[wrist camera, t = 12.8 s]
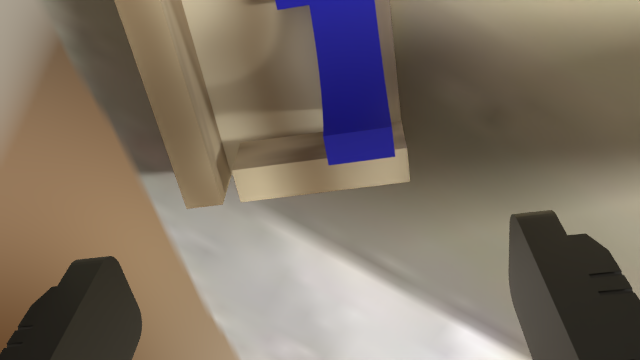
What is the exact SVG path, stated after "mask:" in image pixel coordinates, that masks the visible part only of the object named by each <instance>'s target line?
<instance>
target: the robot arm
mask: <svg viewBox="0 0 640 360" xmlns="http://www.w3.org/2000/svg"><path fill="white" fill-rule="evenodd" d="M509 286H510V292H511V297H512V302H513V305H514V308H515V311H516V314H517V317H518V319H519V322H520V325H521V328H522V331H523V334H524V336H525V339H526V342H527V345H528V348H529V350H530V353H531V356H532V359H533V360H640V300H639V298H638V297H637V295H636V294H635V293H633V291H632V287H631V285H630V284H629V282H628V281H627V279H626V277H625V276H624V275H622V273H621V269H620V268H619V266H618V265H617V263H616V261H615V260H614V258H613V257H612V255H611V253H610V252H609V250H607V249H606V248H605V247H603V246H602V245H601V244H599V243H598V242H597V241H595V240H594V239H592V238H591V237H590V236H588V235H587V234H577V235H567V234H566V232H565V230H564V228H563V227H562V225H561V223H560V221H559V219H558V217H557V216H556V214H555V212H554V211H552V210H548V211H539V212H529V213H520V214H512V215H511V218H510V233H509ZM141 330H142V320H141V313H140V309H139V307H138V304H137V302H136V300H135V298H134V295H133V293H132V292H131V289H130V287H129V284H128V282H127V280H126V278H125V275H124V273H123V271H122V269H121V266H120V264H119V262H118V261H117V260H116V259H115V258H114V257H112V256H109V257H98V258H89V259H80V260H75V261H74V262H72V263H71V265H70V266H69V268H68V270H67V272H66V273H65V275H64V276H63V278H62V279H61V281H60V283H59V284H58V286H55V287H51V288H50V289H49V290H48V291H47V292H46V293H45V294H44V295H43V296H41V297H40V298H39V299H38V300H37V301H36V302H35V303H34V304H32V306H31V307H30V308H29V310H28V311H27V313H26V315H25V316H24V318H23V319H22V321H21V322H20V324H19V326H18V331H15V332H14V333H13V335H12V336H11V338H10V339H9V341H8V343H7V348H4V349H3V350H2V352H1V354H0V360H132V358H133V355H134V352H135V350H136V347H137V345H138V342H139V339H140V336H141Z"/></svg>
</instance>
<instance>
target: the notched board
mask: <svg viewBox="0 0 640 360" xmlns="http://www.w3.org/2000/svg"><path fill="white" fill-rule="evenodd" d="M114 1H115V4H116V7H117V10H118V12H119V15H120V18H121V21H122V24H123V27H124V30H125V33H126V35H127V38H128V41H129V44H130V47H131V50H132V53H133V56H134V59H135V61H136V64H137V67H138V70H139V73H140V76H141V79H142V82H143V84H144V87H145V90H146V93H147V96H148V99H149V102H150V105H151V107H152V110H153V113H154V116H155V119H156V122H157V125H158V128H159V130H160V133H161V136H162V139H163V142H164V145H165V148H166V151H167V154H168V156H169V159H170V162H171V165H172V168H173V171H174V174H175V177H176V179H177V182H178V185H179V188H180V191H181V194H182V197H183V200H184V202H185V205H186V208H187V209H190V208H198V207H206V206H214V205H222V204H223V202H224V198H225V195H226V192H227V188H228V185H229V182H230V178H231V175H233V176H234V180H235V183H236V187H237V190H238V194H239V197H240V201H241V202H247V201H255V200H263V199H272V198H280V197H288V196H296V195H304V194H312V193H321V192H329V191H337V190H345V189H353V188H362V187H370V186H378V185H386V184H394V183H403V182H410V173H409V163H408V152H407V145H406V140H405V136H404V131H403V127H402V122H401V112H400V102H399V92H398V81H397V71H396V60H395V50H394V39H393V29H392V19H391V8H390V0H375V7H376V16H377V24H378V32H379V40H380V48H381V55H382V63H383V70H384V78H385V85H386V92H387V99H388V106H389V112H390V118H391V124H392V132H393V141H394V149H395V157H390V158H382V159H375V160H367V161H359V162H352V163H344V164H337V165H328V160H327V155H326V149H325V144H324V139H323V110H322V97H321V86H320V77H319V68H318V60H317V52H316V45H315V38H314V31H313V25H312V19H311V13H310V7H309V5H306V6H300V7H294V8H288V9H282V10H277V6H276V2H275V0H114Z"/></svg>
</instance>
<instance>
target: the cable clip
mask: <svg viewBox="0 0 640 360" xmlns="http://www.w3.org/2000/svg"><path fill="white" fill-rule="evenodd" d="M275 2H276V6H277V10H282V9H288V8H294V7H300V6H306V5H309V7H310V13H311V19H312V25H313V31H314V38H315V45H316V52H317V60H318V68H319V77H320V86H321V97H322V110H323V139H324V144H325V149H326V155H327V160H328V165H337V164H344V163H352V162H359V161H367V160H375V159H382V158H390V157H395V149H394V141H393V132H392V124H391V118H390V112H389V106H388V99H387V92H386V85H385V78H384V70H383V63H382V55H381V48H380V40H379V32H378V24H377V16H376V7H375V0H275Z"/></svg>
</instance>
